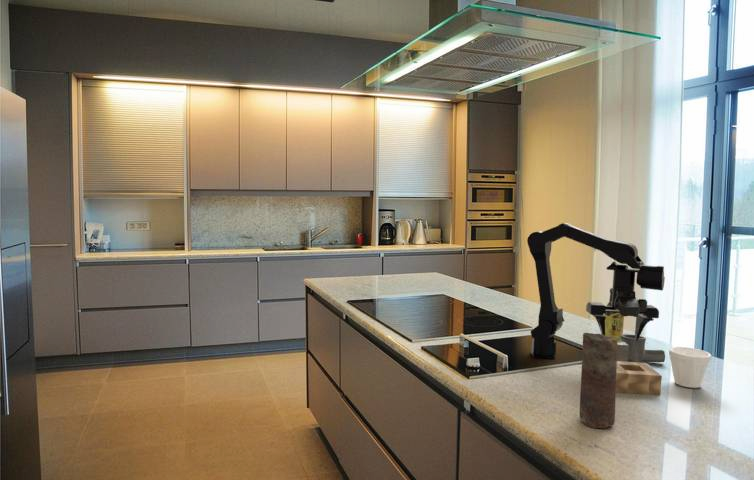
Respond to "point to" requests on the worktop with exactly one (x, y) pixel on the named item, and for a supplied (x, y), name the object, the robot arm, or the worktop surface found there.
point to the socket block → (637, 378)
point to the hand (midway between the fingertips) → (619, 338)
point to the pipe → (641, 350)
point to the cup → (689, 366)
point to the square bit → (622, 351)
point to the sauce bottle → (613, 322)
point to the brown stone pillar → (598, 380)
